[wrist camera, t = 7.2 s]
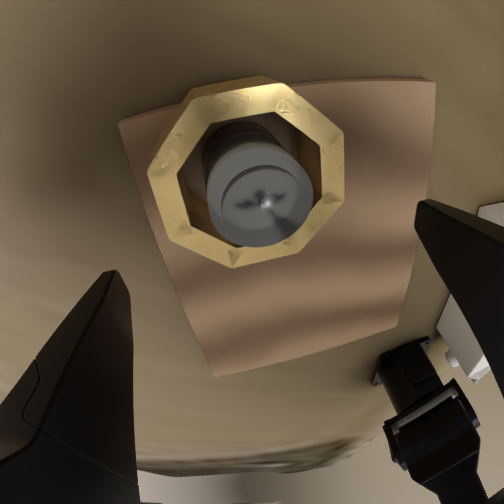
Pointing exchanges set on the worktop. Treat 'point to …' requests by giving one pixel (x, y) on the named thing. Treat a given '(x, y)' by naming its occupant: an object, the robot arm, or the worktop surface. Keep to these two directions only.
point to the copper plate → (322, 243)
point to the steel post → (254, 185)
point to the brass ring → (229, 107)
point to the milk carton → (456, 326)
